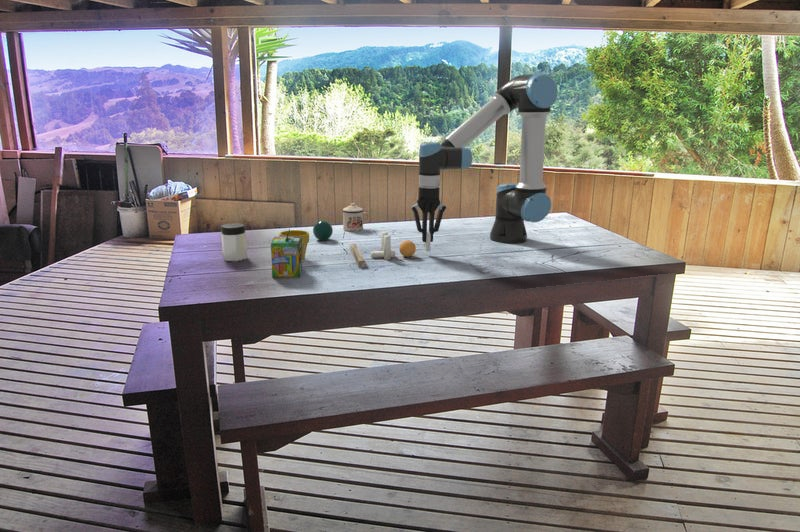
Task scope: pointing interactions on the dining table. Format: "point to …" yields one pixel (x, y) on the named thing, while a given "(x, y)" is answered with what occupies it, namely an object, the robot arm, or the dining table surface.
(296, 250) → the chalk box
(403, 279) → the dining table surface
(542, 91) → the robot arm
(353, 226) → the teacup with lid
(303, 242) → the plant pot
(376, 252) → the front pin
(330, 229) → the sphere
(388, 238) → the pin
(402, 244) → the ball
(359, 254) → the brown wooden bar
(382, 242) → the pin
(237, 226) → the jar
